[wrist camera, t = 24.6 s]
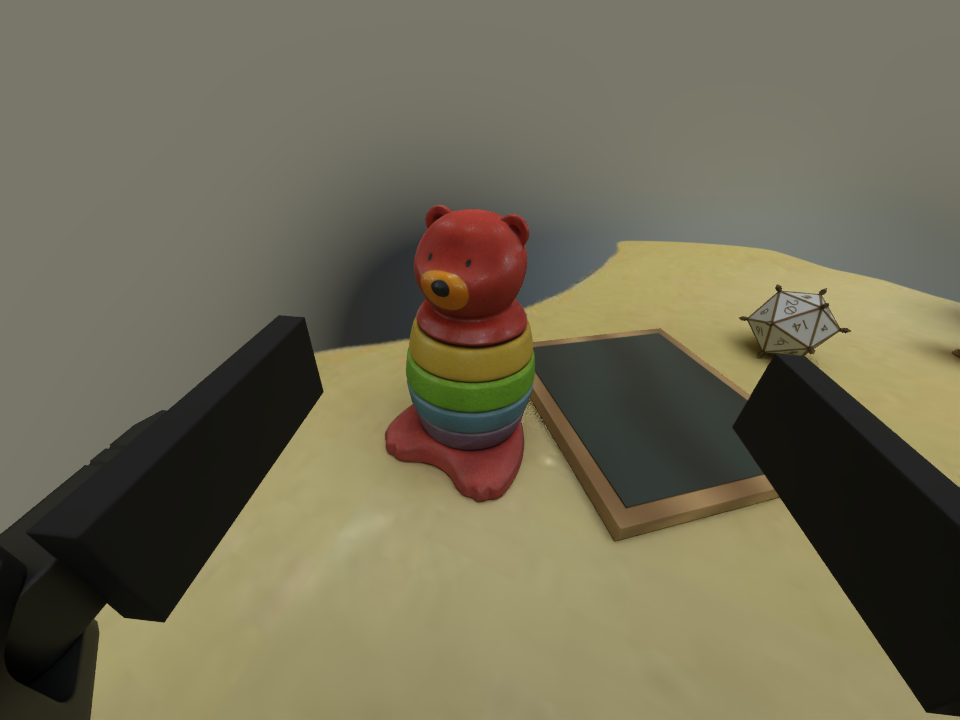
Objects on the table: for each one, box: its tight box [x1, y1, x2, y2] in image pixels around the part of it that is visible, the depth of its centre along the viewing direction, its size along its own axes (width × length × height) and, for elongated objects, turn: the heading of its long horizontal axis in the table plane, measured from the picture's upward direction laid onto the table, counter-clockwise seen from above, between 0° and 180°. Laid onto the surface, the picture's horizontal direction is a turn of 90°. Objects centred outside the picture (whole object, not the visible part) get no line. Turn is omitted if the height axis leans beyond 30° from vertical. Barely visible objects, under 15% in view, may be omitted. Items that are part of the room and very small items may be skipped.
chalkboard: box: [530, 328, 779, 541], centre depth 34 cm, size 20×22×2 cm
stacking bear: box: [385, 205, 535, 501], centre depth 26 cm, size 11×10×18 cm
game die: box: [739, 284, 851, 358], centre depth 42 cm, size 9×8×10 cm
